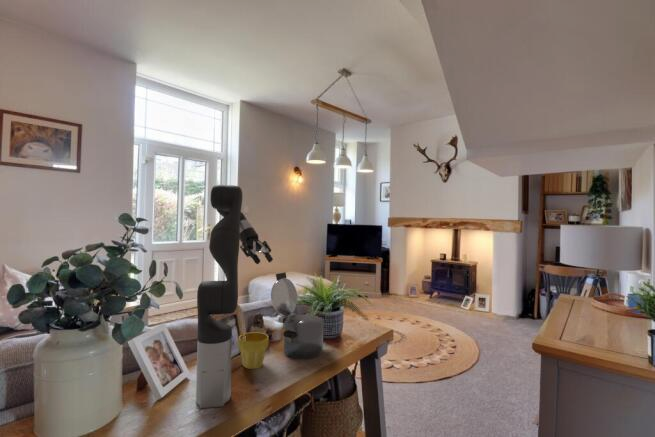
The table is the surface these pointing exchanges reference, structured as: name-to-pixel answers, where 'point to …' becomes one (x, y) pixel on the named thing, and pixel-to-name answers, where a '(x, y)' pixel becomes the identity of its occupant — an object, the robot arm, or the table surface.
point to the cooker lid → (283, 295)
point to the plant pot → (253, 349)
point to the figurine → (258, 324)
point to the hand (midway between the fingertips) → (265, 261)
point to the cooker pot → (302, 336)
